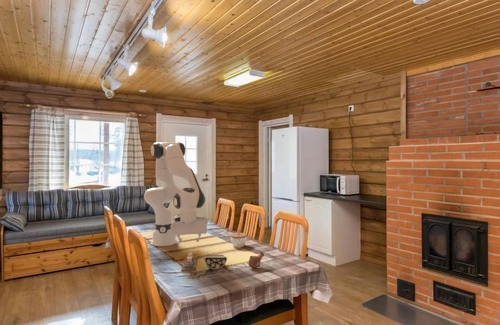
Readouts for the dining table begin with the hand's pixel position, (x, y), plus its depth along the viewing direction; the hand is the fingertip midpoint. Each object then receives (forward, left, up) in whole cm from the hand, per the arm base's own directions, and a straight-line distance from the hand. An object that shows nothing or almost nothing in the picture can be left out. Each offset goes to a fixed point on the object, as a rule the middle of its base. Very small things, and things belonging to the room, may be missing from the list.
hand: (189, 241), depth 174 cm
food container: (+4, +14, -10) cm, 18 cm away
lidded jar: (-27, +30, -12) cm, 43 cm away
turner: (+3, 0, -11) cm, 11 cm away
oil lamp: (+14, +36, -12) cm, 41 cm away
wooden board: (+3, 0, -12) cm, 12 cm away
